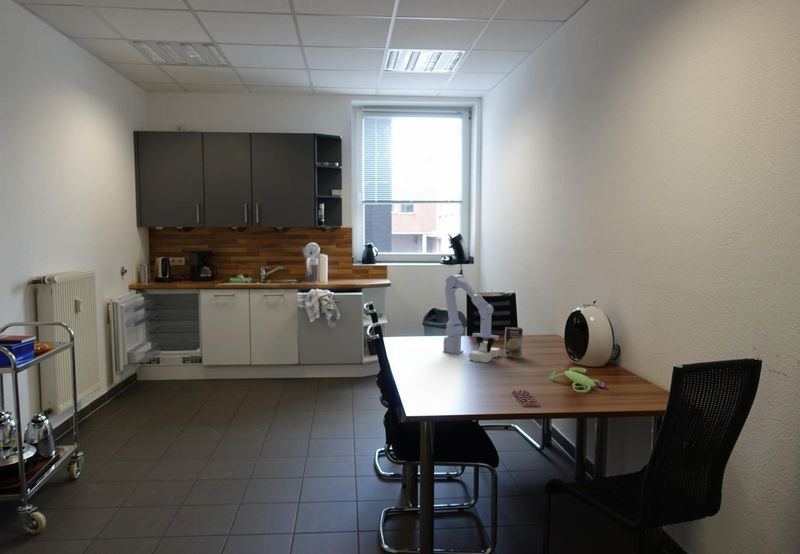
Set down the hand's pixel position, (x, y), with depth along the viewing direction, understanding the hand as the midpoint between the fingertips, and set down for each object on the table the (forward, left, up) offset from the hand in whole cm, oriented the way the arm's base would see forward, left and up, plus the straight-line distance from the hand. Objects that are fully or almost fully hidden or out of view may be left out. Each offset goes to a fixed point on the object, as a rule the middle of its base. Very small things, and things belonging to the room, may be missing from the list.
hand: (485, 351), depth 302 cm
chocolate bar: (+41, -61, -4) cm, 74 cm away
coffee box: (+12, +11, -4) cm, 17 cm away
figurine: (+54, -25, -4) cm, 60 cm away
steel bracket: (0, 0, -3) cm, 3 cm away
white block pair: (0, 0, -4) cm, 4 cm away
